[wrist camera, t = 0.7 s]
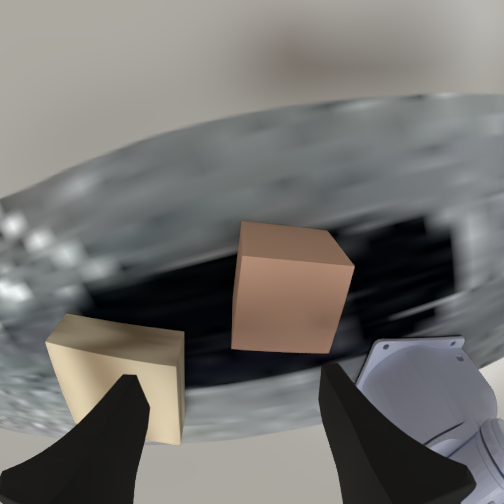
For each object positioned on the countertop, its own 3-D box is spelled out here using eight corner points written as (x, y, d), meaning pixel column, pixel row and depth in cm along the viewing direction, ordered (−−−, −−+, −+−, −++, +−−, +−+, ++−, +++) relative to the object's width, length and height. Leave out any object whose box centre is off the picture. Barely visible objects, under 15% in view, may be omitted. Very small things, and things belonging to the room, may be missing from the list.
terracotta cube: (326, 230, 18) (354, 266, 14) (310, 303, 20) (328, 353, 16) (241, 220, 18) (242, 255, 13) (232, 297, 20) (231, 348, 15)
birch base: (184, 331, 20) (176, 366, 17) (185, 412, 24) (180, 445, 21) (66, 313, 20) (45, 341, 17) (88, 394, 23) (75, 423, 20)
